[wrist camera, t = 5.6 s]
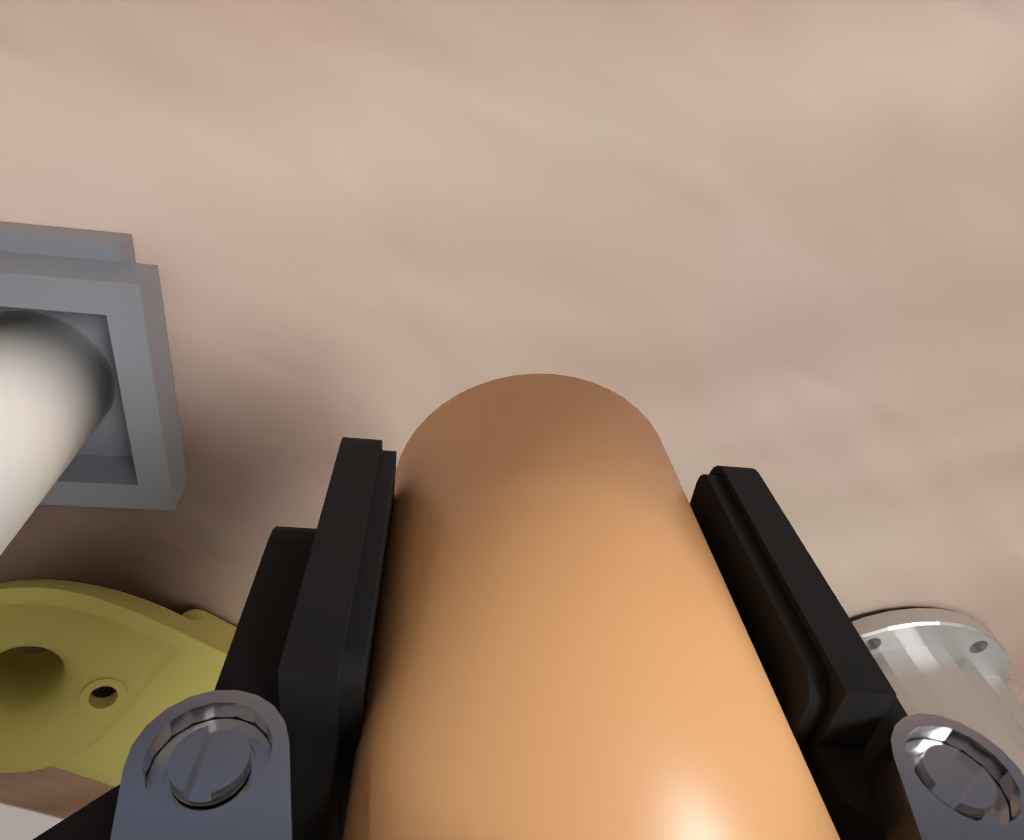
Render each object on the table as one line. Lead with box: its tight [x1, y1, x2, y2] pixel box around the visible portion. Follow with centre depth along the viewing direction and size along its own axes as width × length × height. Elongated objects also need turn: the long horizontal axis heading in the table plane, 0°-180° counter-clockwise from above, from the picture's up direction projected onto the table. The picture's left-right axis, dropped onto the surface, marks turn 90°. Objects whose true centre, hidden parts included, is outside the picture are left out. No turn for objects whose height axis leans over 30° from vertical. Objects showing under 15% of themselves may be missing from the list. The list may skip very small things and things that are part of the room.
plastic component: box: [0, 579, 237, 787], centre depth 30 cm, size 20×7×10 cm
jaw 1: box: [343, 374, 840, 840], centre depth 8 cm, size 4×4×8 cm
